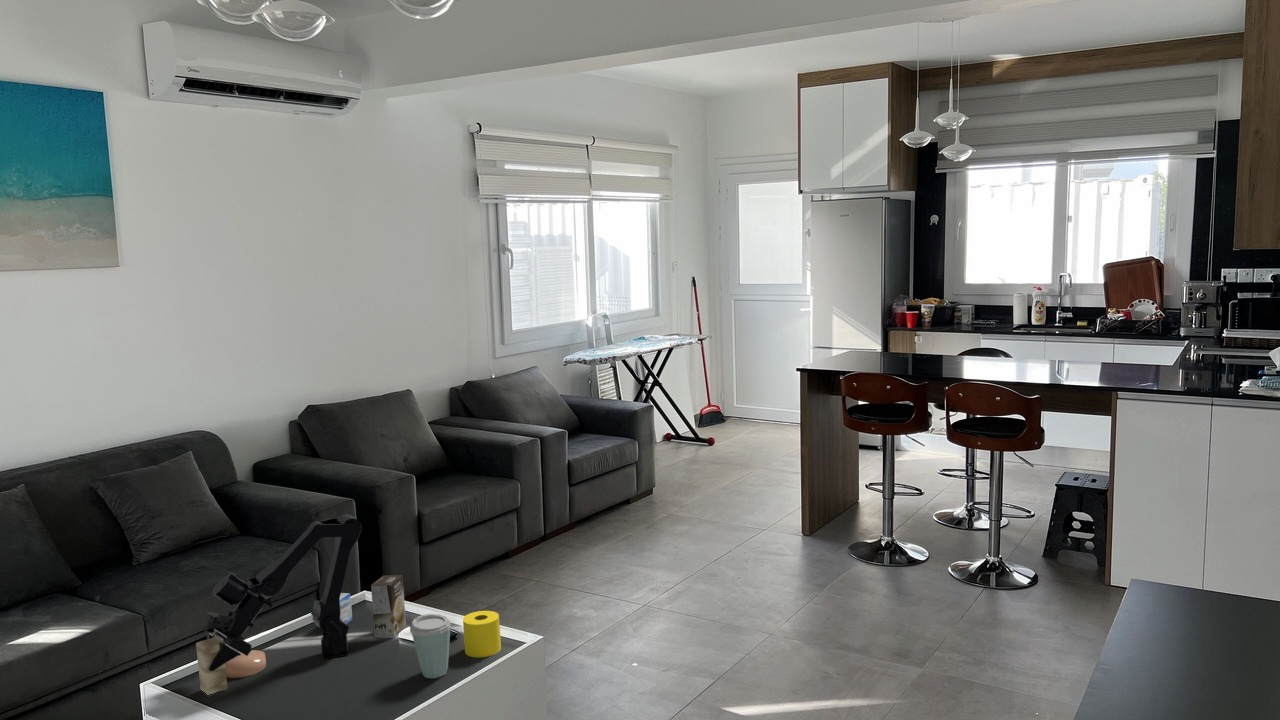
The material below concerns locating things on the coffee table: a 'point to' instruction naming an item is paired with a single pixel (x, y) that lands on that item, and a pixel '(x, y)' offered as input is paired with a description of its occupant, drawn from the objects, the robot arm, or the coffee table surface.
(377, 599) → the coffee box
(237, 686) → the coffee table surface
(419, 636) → the disposable coffee cup
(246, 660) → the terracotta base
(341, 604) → the medicine box
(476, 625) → the yellow toilet paper roll
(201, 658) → the birch block
